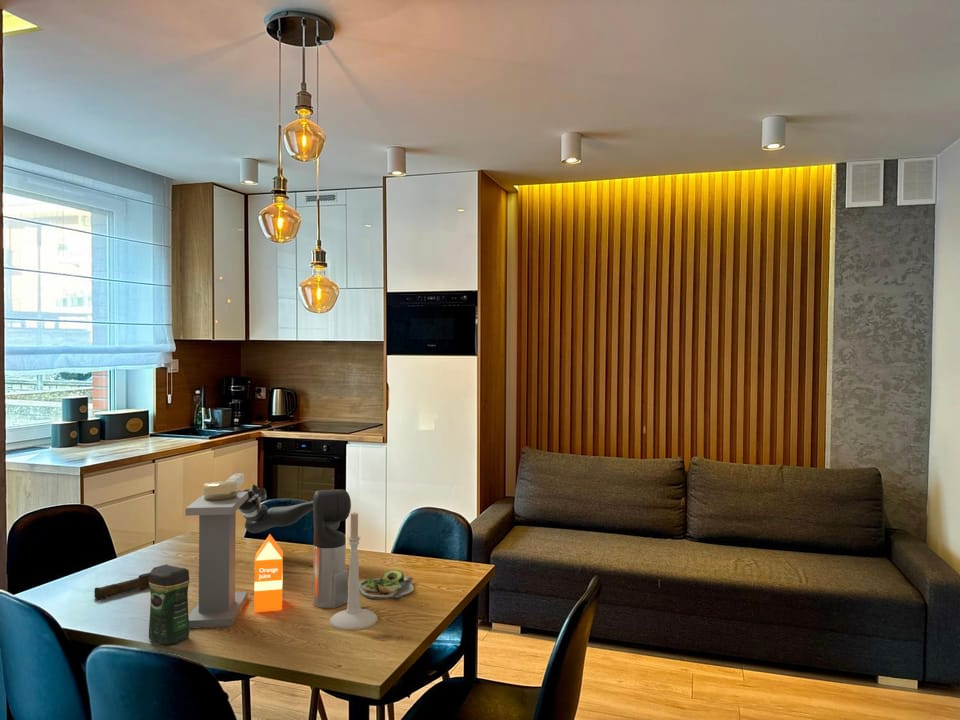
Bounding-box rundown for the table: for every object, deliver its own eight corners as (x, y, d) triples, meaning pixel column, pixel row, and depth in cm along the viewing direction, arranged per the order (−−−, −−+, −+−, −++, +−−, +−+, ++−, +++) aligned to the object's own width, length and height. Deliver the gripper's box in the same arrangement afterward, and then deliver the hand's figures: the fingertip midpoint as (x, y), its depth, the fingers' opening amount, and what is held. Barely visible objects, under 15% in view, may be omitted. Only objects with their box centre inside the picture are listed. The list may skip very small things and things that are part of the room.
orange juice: (253, 612, 194) (254, 541, 194) (255, 601, 203) (255, 534, 203) (282, 609, 196) (283, 540, 196) (282, 599, 205) (283, 532, 205)
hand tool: (98, 602, 202) (98, 587, 202) (93, 599, 205) (93, 583, 205) (162, 587, 216) (163, 572, 216) (157, 584, 219) (157, 569, 219)
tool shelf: (205, 599, 204) (206, 492, 204) (247, 598, 206) (248, 491, 206) (184, 628, 182) (185, 508, 182) (231, 626, 184) (232, 506, 184)
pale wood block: (224, 482, 221) (224, 469, 221) (253, 481, 222) (253, 469, 222) (199, 501, 191) (199, 487, 191) (233, 500, 192) (233, 486, 192)
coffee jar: (195, 637, 176) (195, 565, 176) (167, 648, 169) (168, 573, 169) (170, 630, 181) (170, 559, 181) (142, 640, 174) (143, 567, 174)
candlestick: (326, 615, 192) (327, 508, 192) (371, 610, 196) (372, 505, 197) (333, 632, 180) (334, 518, 180) (381, 626, 184) (382, 515, 185)
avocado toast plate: (423, 600, 206) (423, 584, 206) (363, 605, 201) (363, 590, 201) (410, 580, 225) (410, 566, 225) (355, 585, 219) (355, 570, 220)
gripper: (268, 513, 239) (261, 497, 225) (226, 514, 237) (216, 499, 223) (270, 492, 242) (263, 476, 228) (228, 493, 240) (218, 477, 227)
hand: (239, 487), depth 226 cm, fingers open, 8 cm apart
